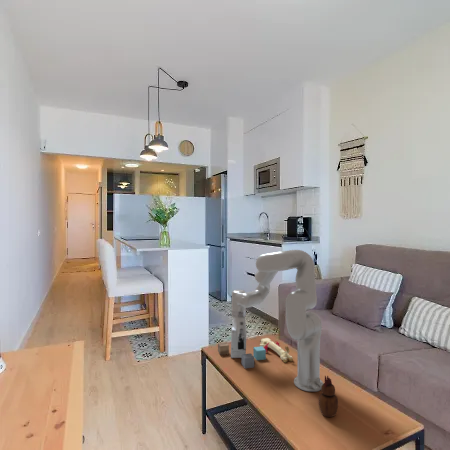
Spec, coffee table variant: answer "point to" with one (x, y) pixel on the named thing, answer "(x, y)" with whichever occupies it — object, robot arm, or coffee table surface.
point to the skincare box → (236, 345)
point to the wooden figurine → (328, 399)
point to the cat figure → (276, 349)
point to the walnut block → (223, 348)
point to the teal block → (259, 353)
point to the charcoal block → (247, 360)
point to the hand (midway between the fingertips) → (238, 346)
